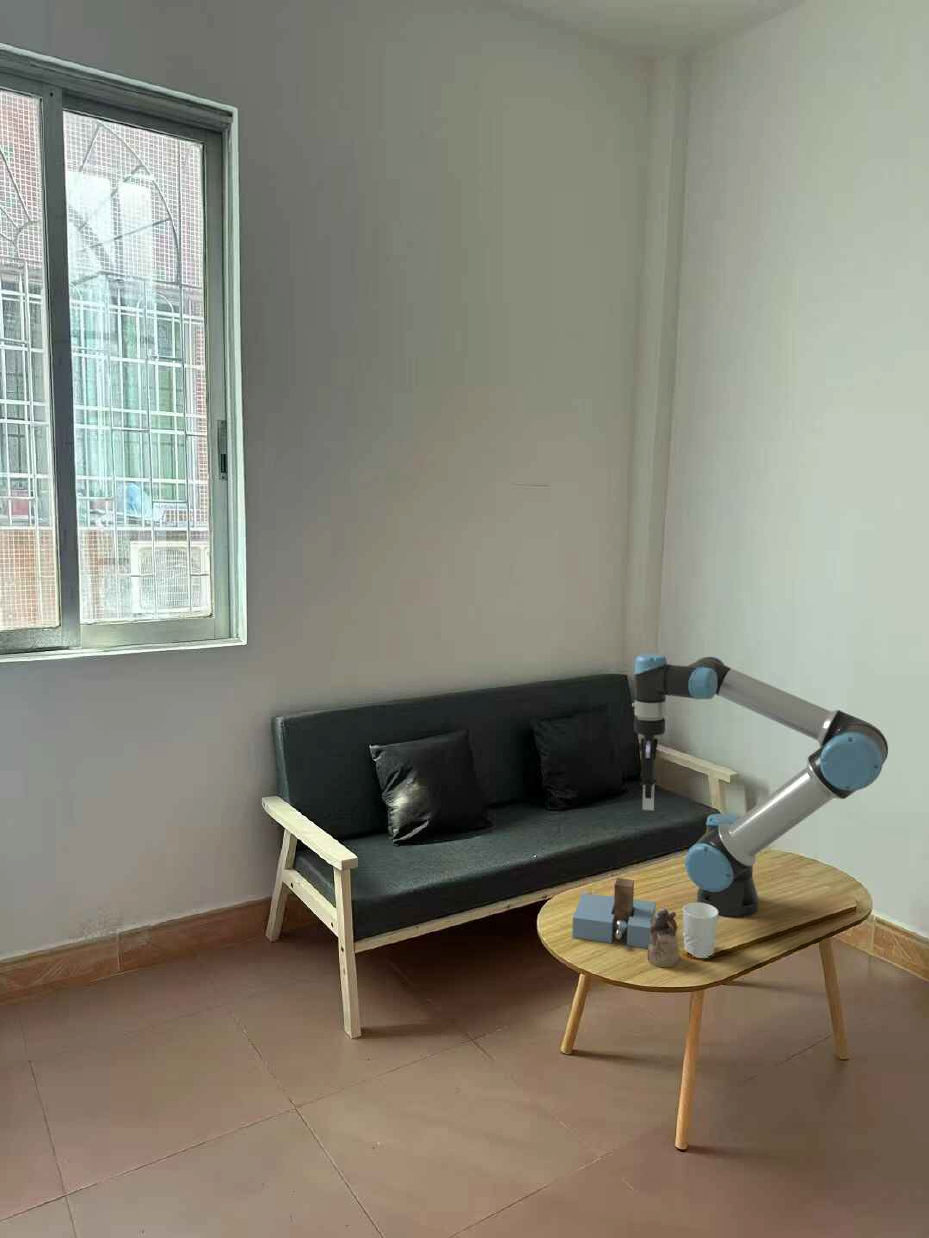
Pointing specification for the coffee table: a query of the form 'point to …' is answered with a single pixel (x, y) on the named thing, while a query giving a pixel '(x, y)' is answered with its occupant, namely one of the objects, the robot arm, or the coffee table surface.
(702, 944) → the white cup
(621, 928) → the plunger
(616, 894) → the peg
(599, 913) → the socket board
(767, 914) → the coffee table surface
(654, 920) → the figurine
